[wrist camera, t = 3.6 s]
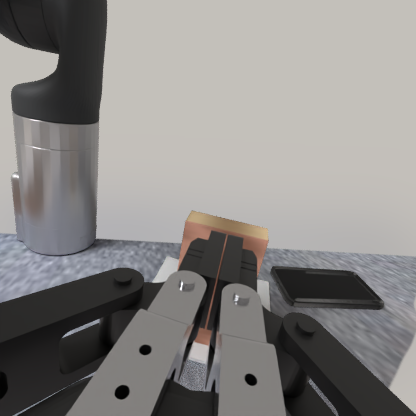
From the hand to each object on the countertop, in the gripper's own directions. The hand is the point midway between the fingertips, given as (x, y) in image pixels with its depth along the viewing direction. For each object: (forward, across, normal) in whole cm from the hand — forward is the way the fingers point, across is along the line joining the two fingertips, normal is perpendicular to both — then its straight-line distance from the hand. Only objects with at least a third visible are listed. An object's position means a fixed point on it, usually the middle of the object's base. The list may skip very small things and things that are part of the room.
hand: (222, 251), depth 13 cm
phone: (+26, -16, +18) cm, 35 cm away
